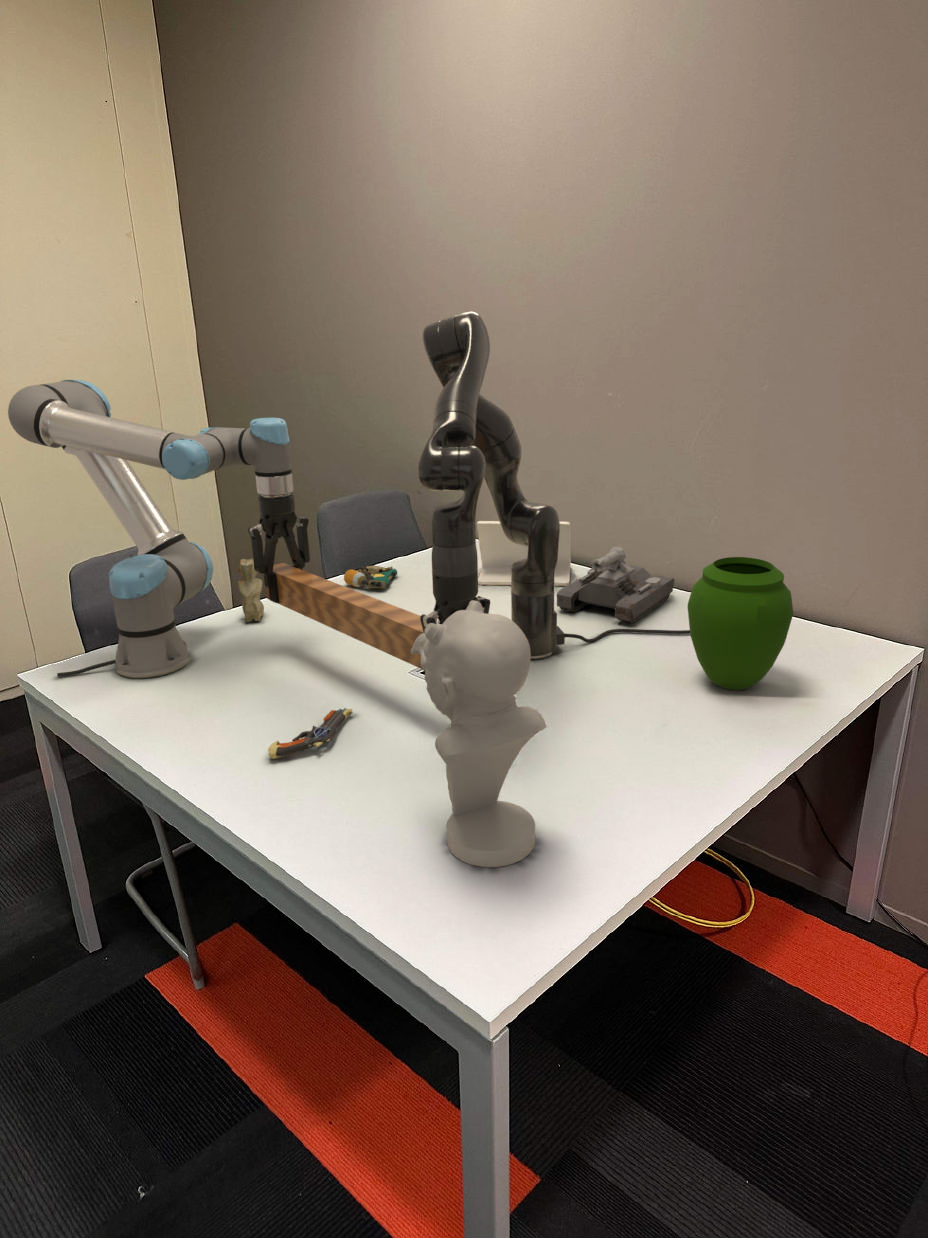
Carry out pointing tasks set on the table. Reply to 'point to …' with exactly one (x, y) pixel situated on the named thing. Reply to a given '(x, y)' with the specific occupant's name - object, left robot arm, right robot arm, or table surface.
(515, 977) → the table surface
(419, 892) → the table surface
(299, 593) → the beam
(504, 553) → the tablet stand
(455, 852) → the bust sculpture
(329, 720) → the toy gun
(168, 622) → the left robot arm
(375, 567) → the spray gun
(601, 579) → the toy
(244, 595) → the sculpture
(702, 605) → the vase
